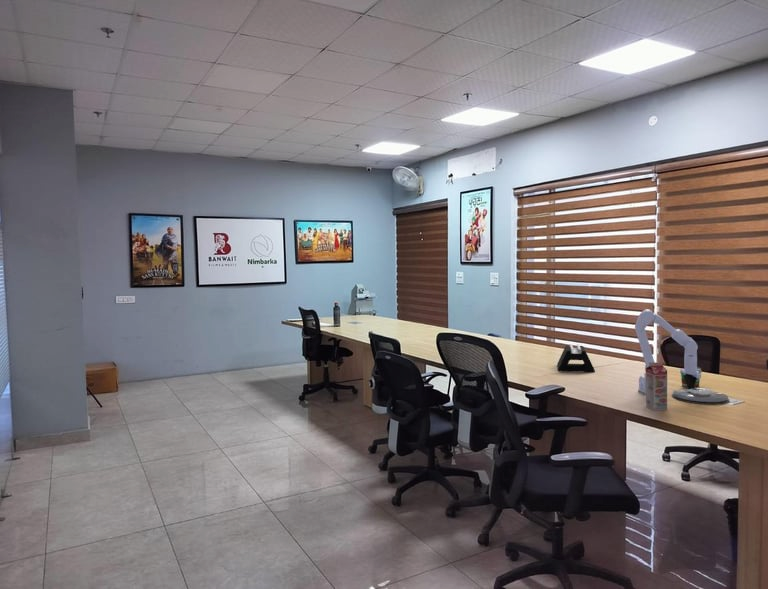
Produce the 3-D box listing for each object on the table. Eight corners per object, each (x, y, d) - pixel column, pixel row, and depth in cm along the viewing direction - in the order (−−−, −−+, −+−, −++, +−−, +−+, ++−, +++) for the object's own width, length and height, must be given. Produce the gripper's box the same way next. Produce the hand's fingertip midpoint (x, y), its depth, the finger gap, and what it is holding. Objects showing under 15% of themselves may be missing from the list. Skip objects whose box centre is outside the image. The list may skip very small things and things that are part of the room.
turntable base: (691, 405, 254) (691, 404, 254) (661, 393, 279) (661, 392, 279) (741, 403, 255) (741, 402, 255) (707, 391, 280) (707, 390, 280)
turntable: (691, 403, 255) (691, 400, 255) (663, 392, 279) (663, 389, 279) (739, 401, 256) (739, 399, 255) (707, 390, 279) (707, 388, 279)
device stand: (558, 371, 345) (557, 348, 344) (557, 365, 366) (557, 343, 365) (594, 372, 338) (594, 349, 337) (592, 366, 360) (591, 344, 359)
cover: (698, 397, 262) (698, 392, 262) (686, 393, 271) (686, 388, 271) (715, 396, 263) (715, 391, 262) (702, 392, 272) (702, 387, 271)
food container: (689, 389, 287) (689, 370, 286) (679, 386, 293) (679, 368, 292) (707, 387, 290) (707, 369, 290) (697, 384, 296) (697, 367, 296)
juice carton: (645, 406, 254) (645, 361, 253) (658, 406, 255) (658, 361, 253) (653, 410, 247) (653, 364, 246) (667, 409, 248) (667, 363, 247)
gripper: (707, 365, 267) (706, 392, 267) (689, 360, 281) (689, 385, 282) (693, 365, 267) (693, 392, 267) (676, 360, 281) (676, 386, 282)
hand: (690, 389), depth 275 cm, fingers closed
